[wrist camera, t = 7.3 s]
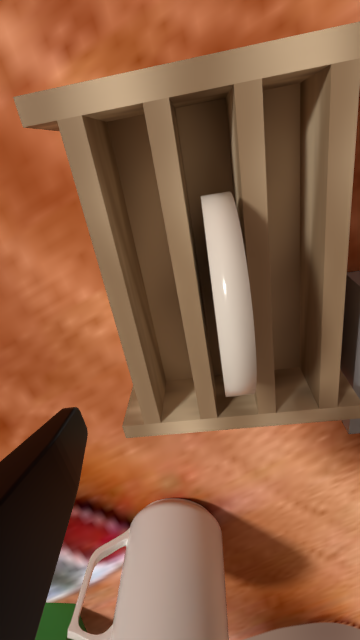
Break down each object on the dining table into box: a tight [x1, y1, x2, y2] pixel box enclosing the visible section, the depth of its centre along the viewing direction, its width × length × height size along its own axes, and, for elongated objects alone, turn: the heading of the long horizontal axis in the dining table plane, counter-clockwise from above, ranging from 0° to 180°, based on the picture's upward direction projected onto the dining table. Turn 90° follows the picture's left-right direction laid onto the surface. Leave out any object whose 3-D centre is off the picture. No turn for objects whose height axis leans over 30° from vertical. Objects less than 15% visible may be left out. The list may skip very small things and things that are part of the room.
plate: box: [201, 191, 257, 397], centre depth 15 cm, size 1×9×9 cm, turn 9°
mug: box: [67, 498, 229, 640], centre depth 28 cm, size 12×9×11 cm
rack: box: [13, 22, 360, 438], centre depth 18 cm, size 14×18×5 cm
